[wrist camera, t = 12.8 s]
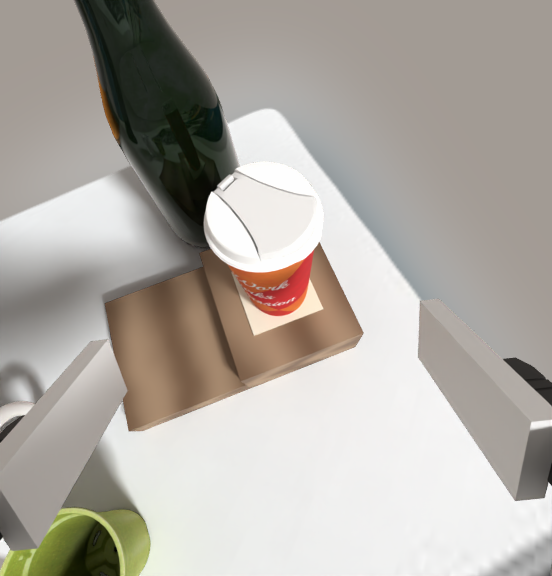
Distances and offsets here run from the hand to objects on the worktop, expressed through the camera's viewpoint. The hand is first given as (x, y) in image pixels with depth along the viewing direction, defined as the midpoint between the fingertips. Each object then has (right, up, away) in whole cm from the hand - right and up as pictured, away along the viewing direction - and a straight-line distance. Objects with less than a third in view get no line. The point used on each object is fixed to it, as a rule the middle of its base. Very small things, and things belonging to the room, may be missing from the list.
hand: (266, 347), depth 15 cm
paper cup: (+1, +2, +19) cm, 20 cm away
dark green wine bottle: (-8, +12, +31) cm, 34 cm away
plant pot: (-14, -22, +18) cm, 32 cm away
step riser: (-5, -2, +25) cm, 25 cm away
